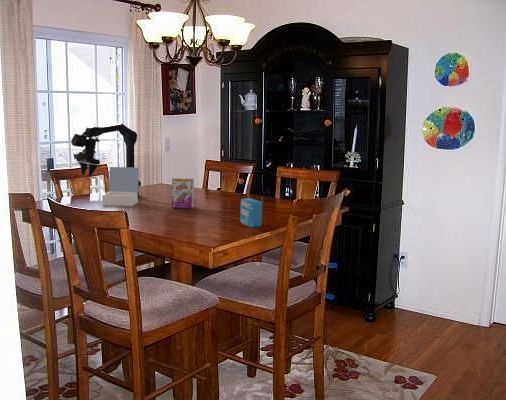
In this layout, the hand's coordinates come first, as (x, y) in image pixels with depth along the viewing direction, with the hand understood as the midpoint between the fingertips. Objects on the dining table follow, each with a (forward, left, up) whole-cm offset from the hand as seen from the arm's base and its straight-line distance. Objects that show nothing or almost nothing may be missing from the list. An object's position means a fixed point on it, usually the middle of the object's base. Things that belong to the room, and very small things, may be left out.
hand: (86, 175), depth 301 cm
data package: (-78, +77, -15) cm, 111 cm away
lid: (-21, +5, -2) cm, 21 cm away
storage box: (-19, +13, -15) cm, 27 cm away
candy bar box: (-52, +28, -15) cm, 61 cm away
